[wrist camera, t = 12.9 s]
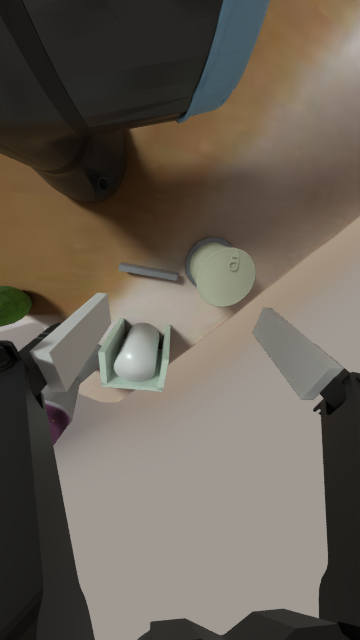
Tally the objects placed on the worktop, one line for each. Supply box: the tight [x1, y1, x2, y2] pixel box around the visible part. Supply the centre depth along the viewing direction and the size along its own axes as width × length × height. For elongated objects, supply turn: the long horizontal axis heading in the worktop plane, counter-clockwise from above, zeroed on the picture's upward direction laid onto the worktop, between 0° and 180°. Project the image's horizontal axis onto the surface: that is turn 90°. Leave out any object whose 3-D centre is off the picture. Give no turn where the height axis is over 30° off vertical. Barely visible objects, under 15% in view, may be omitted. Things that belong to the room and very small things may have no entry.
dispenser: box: [98, 263, 178, 392], centre depth 34 cm, size 24×13×13 cm, turn 169°
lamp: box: [41, 344, 101, 445], centre depth 28 cm, size 11×11×40 cm
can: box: [190, 243, 256, 307], centre depth 28 cm, size 9×9×12 cm
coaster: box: [186, 237, 232, 287], centre depth 34 cm, size 11×11×1 cm
